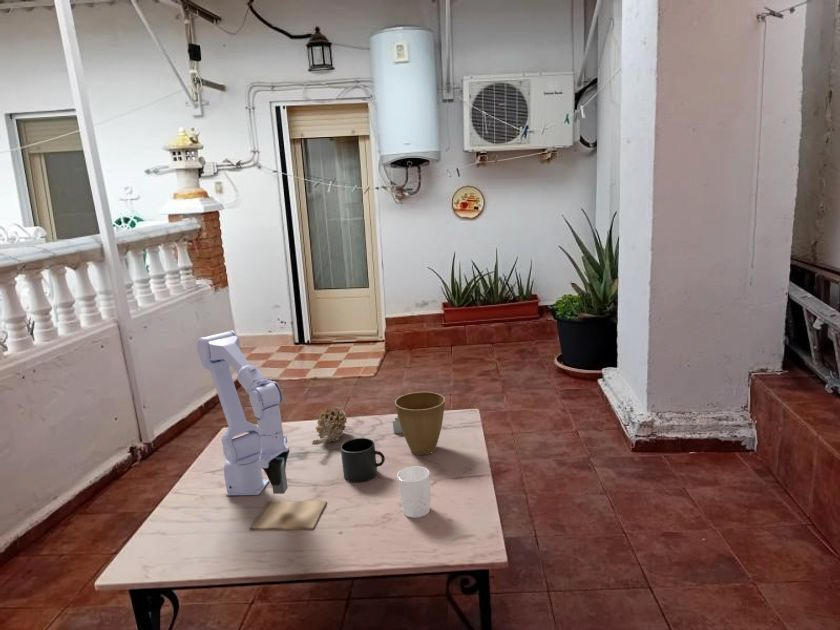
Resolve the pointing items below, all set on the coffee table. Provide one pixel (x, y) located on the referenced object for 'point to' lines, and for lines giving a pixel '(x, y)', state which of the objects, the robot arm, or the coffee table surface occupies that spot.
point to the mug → (360, 459)
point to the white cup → (414, 491)
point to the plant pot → (421, 420)
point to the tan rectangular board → (288, 515)
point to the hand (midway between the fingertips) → (278, 481)
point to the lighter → (397, 426)
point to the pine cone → (330, 425)
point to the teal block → (283, 483)
